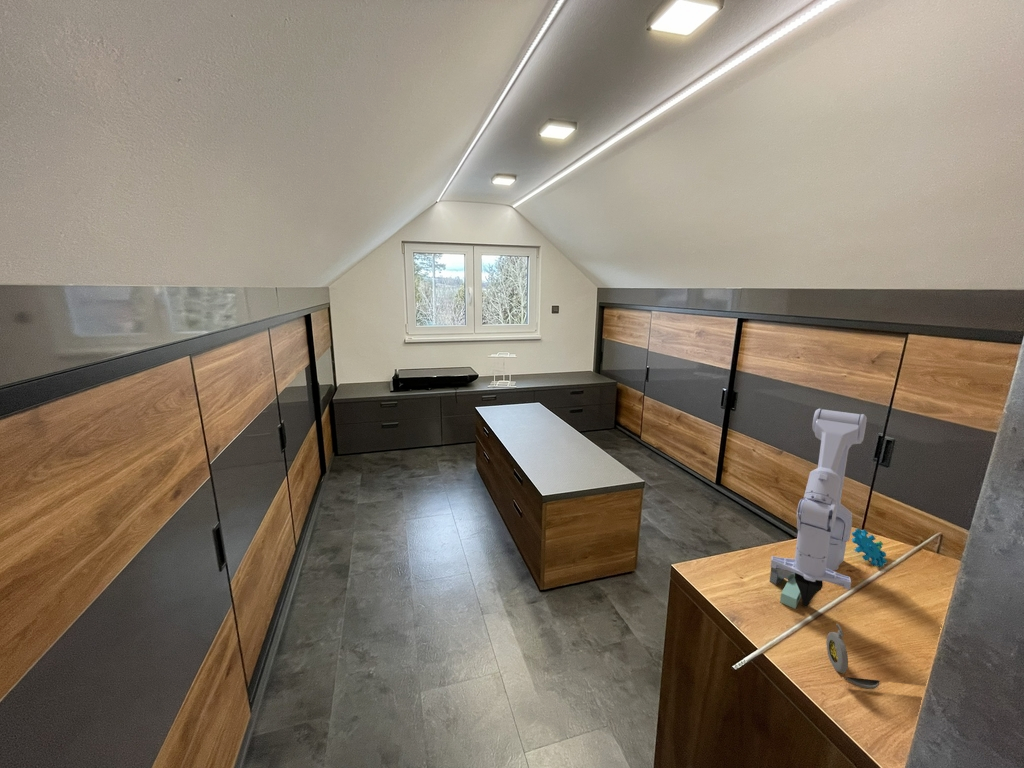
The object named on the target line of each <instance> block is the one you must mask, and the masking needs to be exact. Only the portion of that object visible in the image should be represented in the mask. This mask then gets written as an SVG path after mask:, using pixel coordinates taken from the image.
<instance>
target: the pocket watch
mask: <svg viewBox="0 0 1024 768" xmlns="http://www.w3.org/2000/svg"><path fill="white" fill-rule="evenodd" d="M835 626H836V628H837V632H836V631H830V632H828V634H827V636H826V651H827V656H828V659H829V661H830V663H831V666H832V667H833V669H834V670H835V671H836V672H838V673H841V674H845V673H846V672H847V671H848V667H849V656H848V651H847V647H846V644H845V642H844V640H843V638H842V637H844V632H843V630H842V628H841V626H840V624H839V623H838V622H837V623H836V624H835ZM843 678H844V679H845V680H846V681H848V682H849V683H851V684H853V685H856V686H857V687H860V688H863V689H868V690H869V689H876V688H878V687H879V685H880V683H881V681H880V680H877V679H868V678H860V677H850V676H843Z"/></svg>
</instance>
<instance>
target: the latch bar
mask: <svg viewBox="0 0 1024 768" xmlns="http://www.w3.org/2000/svg"><path fill="white" fill-rule="evenodd" d="M801 599H802V597H801V593H800V590H799V588H798V585H797V583H796V581H795V575H794V576H793V577H792V578H790V579H789V580H787V582H786V584H785V586H784V588H783V589H782V590H781V593H780V601H779V603H781V604H783V605H786V606H787V607H790V608H792V609H795V610H796V608H797V606H798V604H799V602H800V600H801Z"/></svg>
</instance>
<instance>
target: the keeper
mask: <svg viewBox="0 0 1024 768" xmlns="http://www.w3.org/2000/svg"><path fill="white" fill-rule="evenodd" d="M769 574H770V576H769V583H771V584H774V585H776V586H777V585H778V584H780V583H781V582H782V581H784V580H785V579H786V580H787V581H788V580H789V579H790V578H792V577H793V576H794V575H795V572H791V571H788V570H784V569H781V568H777V567H776V568H772V567H771V566H770V573H769Z"/></svg>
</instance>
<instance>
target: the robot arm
mask: <svg viewBox="0 0 1024 768" xmlns="http://www.w3.org/2000/svg"><path fill="white" fill-rule="evenodd" d="M867 418H868V417H867V416H866V415H865V413H860V414H859V413H852V412H845V411H838V410H830V409H824V408H823V409H822V408H818V409H816V410H815V411H814V414H813V418H812V429H811V430H812V431H813V433H814V436H815V438H816V439H818V440H820V447H819V454H818V455H819V456H818V463H817V468H814V469H813V470H811V471H809V475H808V479H807V483H806V487H805V489H804V490H805V491H804V495H803V498H800V499H799V502H798V505H797V509H796V530H797V538H796V545H795V553H794V558H789V557H788V558H787V557H779V556H775V555H771V560H770V568H771V567H772V568H776V567H777V568H781V569H784V570H788V571H791V572H795V581H796V583H797V585H798V588H799V590H800V593H801V605H802V606H803V607H806V608H808V607H809V605H810V602H811V601H812V599H813V598H814V596H815V595H816V594H818V593H819V592H820V591H821V590H822V589H823V582H827V583H830V584H834V585H836V586H837V585H838V586H842V588H843V589H845V590H848V591H851V586H852V579H851V577H850V576H848V575H844V574H841V573H839V572H837V570H838V569H839V567H840V565H841V564H842V563H843V562H844V560H845V552H846V547H847V542H849V541H850V539H851V535H852V534H851V533H852V528H853V527H852V526H853V513H852V511H851V510H849V509H848V508H847V507H846V506H844V504H842V503H841V501H842V495H843V494H842V493H843V488H844V483H845V482H844V481H845V474H846V467H847V462H848V455H849V449H850V448H851V447H852V446H853V445H858V444H859V445H861V444H862V443H863V441H864V439H865V432H866V427H867V420H868V419H867Z"/></svg>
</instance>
